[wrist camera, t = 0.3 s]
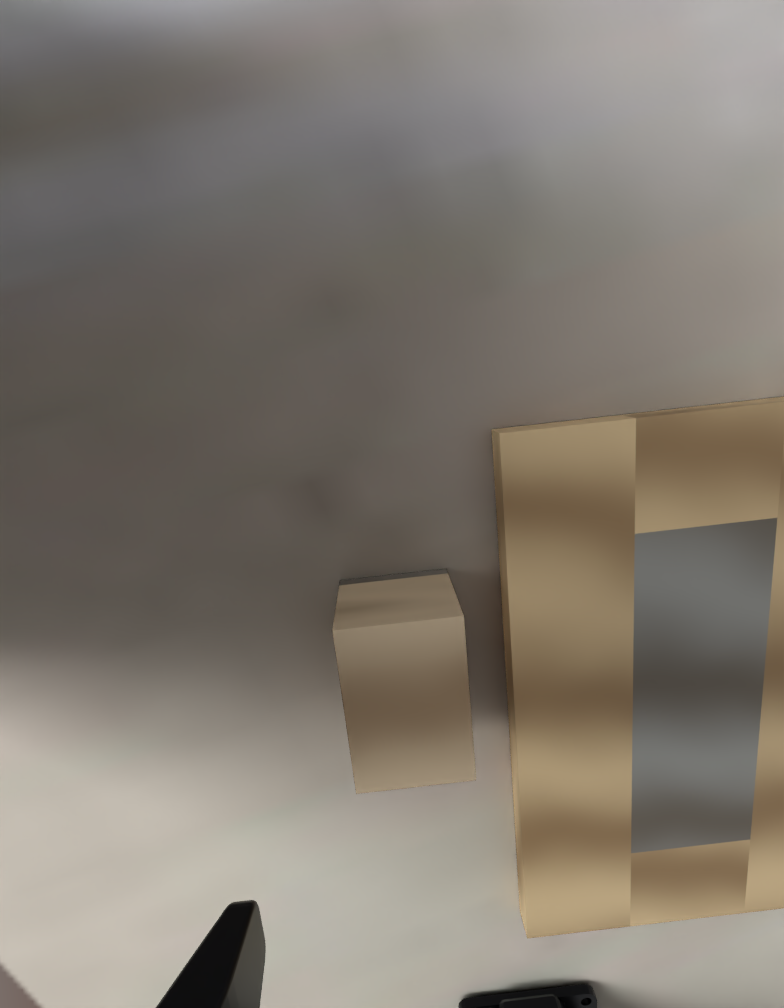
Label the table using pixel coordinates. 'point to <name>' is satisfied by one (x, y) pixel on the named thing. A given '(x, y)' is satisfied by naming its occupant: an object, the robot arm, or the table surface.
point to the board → (645, 663)
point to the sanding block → (404, 681)
